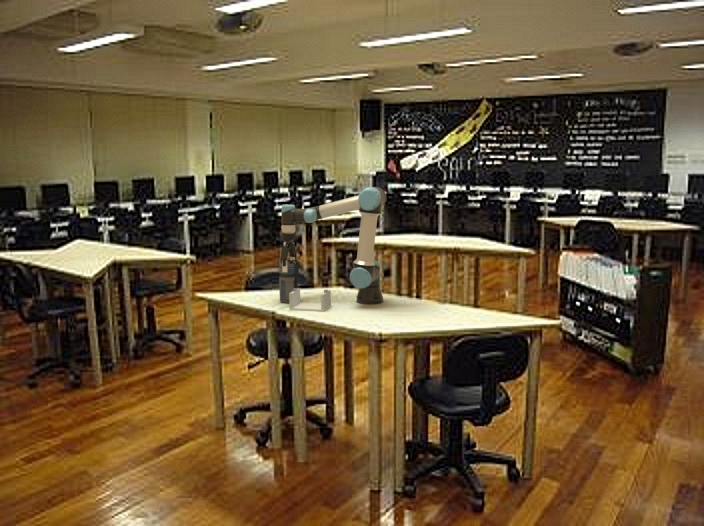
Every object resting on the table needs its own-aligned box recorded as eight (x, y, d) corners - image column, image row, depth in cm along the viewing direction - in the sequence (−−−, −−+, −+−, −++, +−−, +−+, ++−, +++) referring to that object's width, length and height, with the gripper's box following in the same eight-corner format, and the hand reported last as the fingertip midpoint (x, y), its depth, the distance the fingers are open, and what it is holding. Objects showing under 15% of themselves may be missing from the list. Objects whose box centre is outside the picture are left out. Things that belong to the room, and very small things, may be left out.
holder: (330, 305, 340) (330, 287, 339) (324, 311, 327) (323, 292, 325) (297, 304, 345) (297, 286, 343) (289, 309, 331) (289, 291, 330)
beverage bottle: (293, 304, 344) (293, 260, 340) (275, 302, 351) (274, 258, 347) (304, 301, 353) (304, 257, 349) (286, 299, 360) (285, 256, 356)
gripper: (289, 230, 359) (289, 266, 362) (274, 234, 335) (274, 273, 338) (301, 230, 357) (301, 267, 361) (287, 235, 333) (288, 274, 336)
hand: (288, 270), depth 349 cm, fingers open, 13 cm apart
